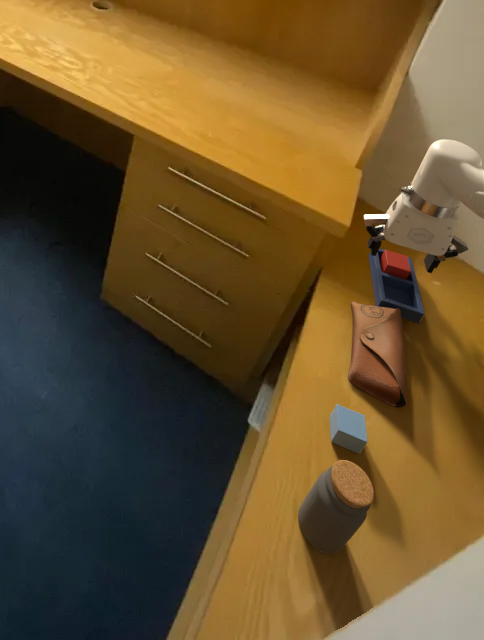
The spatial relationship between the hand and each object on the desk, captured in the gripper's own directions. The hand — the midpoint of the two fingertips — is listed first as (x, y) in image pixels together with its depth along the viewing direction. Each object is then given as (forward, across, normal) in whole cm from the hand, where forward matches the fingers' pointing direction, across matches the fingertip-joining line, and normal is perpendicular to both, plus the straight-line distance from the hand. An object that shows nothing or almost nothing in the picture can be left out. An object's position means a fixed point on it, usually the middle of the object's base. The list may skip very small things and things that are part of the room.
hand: (399, 258), depth 103 cm
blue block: (+5, -11, -36) cm, 38 cm away
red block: (+5, 0, 0) cm, 5 cm away
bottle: (+6, -15, -50) cm, 53 cm away
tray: (+5, 0, -3) cm, 6 cm away
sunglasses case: (+6, -5, -19) cm, 21 cm away
